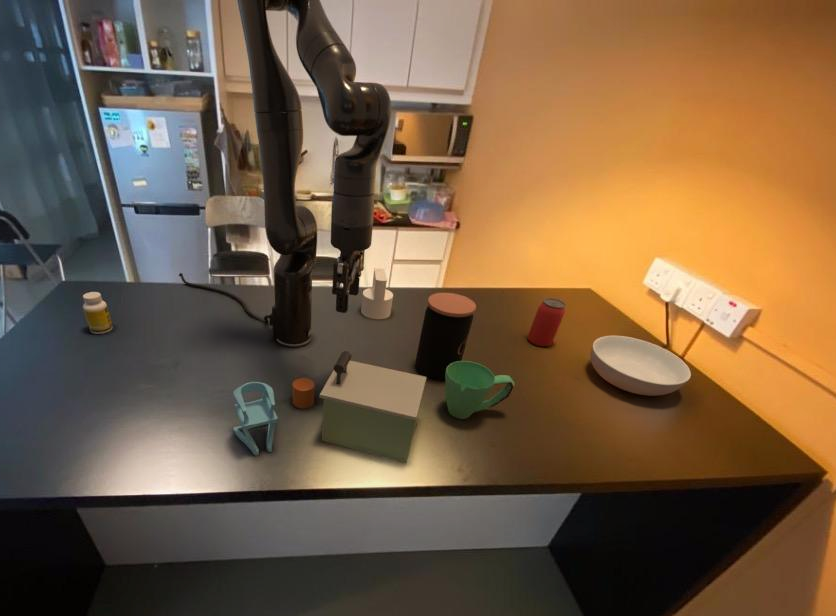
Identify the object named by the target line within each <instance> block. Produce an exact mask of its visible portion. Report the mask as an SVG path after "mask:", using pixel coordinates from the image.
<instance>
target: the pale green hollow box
mask: <svg viewBox="0 0 836 616" xmlns="http://www.w3.org/2000/svg"><path fill="white" fill-rule="evenodd" d="M425 386H426V385H425ZM425 386H424V388H425ZM424 391H425V389H424V390H423V392H424ZM423 396H424V393H423V394H422V398H421V402H420V407H419V411H418V415H417V419H416V421H415V420H411V419H407V418H402V417H398V416H394V415H390V414H386V413H382V412H377V411H373V410H369V409H365V408H361V407H357V406H352V405H348V404H344V403H340V402H336V401H332V400H327V399H323V407H322V408H323V409H322V425H321V426H322V427H321V429H322V431H321V441H322V442H326V443H330V444H334V445H337V446H340V447H341V446H342V447H346V448H348V449H353V450H356V451H361V452H363V453H368V454H372V455H376V456H379V457H383V458H388V459H389V460H390V459H391V460H395V461H398V462H402V463H408V458H409V454H410V452H411V451H410V450H411V446H412V442H413V438H414V435H415V429H416V426H417V422H418V419H419V414H420V409H421V404H422V401H423Z"/></svg>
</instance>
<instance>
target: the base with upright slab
mask: <svg viewBox="0 0 836 616" xmlns="http://www.w3.org/2000/svg"><path fill="white" fill-rule="evenodd" d="M372 277H373V278H372V286H371V287H368V288H365V289H364V290H363V291H362V295H361V296H362V297H361V306H360V313H361V314H362V315H363V316H364V317H365V318H368V319H371V320H385V319H388V318H389V317H390V316H391V315H392V307H393V299H394V293H393V292H392V291H390V290H389V289H387V283H388V279H387V274H386V270H385V268H381V267H379V268H378V267H377V268H374V269H373V276H372Z"/></svg>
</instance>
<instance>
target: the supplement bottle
mask: <svg viewBox="0 0 836 616" xmlns="http://www.w3.org/2000/svg"><path fill="white" fill-rule="evenodd" d="M82 298H83V302H84V303H83V304H82V309H83V312H84V315H85V319H86V322H87V325H88V329H89V331H90V333H92V334H94V335H102V334H103V335H104V334H107V333H110V332H111V331H112V330H113V329H114V327H113V322H112V319H111V315H110V312H109V307H108V304H107V303H106V301H104V300H103V297H102V295H101V293H100V292H98V291H90V292H86V293H84V294H83V295H82Z"/></svg>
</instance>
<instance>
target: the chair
mask: <svg viewBox="0 0 836 616" xmlns="http://www.w3.org/2000/svg"><path fill="white" fill-rule="evenodd" d="M256 391H257V392H260V391H261V392H262V395H261V398H260V399H256V400H252V401H248V402H245V401H244V397H243V395H245V394H247V393H251V392H256ZM233 396H234V398H235V400H236V403H235V404H234V410H235V412H236V414H237V418H238V420H239V423H240V425H238V426H237V425H236V426H234V427H233V433H234V435H235V436H236V437H237V438H238V439H239V440H240V441H241V442H242V443H243V444H244V445H245V446H246V447H247V448H248V449H249V450H250V451H251V452H252V454H253V455H254V456H255V457H257V456H259V455H260V450H259V447H258V445H257V444H256V441H255V440H254V438H253V436H252V434H251V433H250V431H249V430H250V429H254V428H258V427H263V426H266V425H267V426H268V427H267V434H266V440H265V441H266V442H265V443H266V451H267V452H268V453H272V452H273V441H274V435H275V429H276V425H277V423H278V422H279V418H278V415H277V413H276V412H275V408H276V401H275V394H274V390H273V387H272V386H271V385H269V384H267V383H265V382H259V381H250V382H247V383H244V384H242V385H240V386H238V387H237V388H235V390H234V391H233ZM267 396H268V397H267ZM242 431H243V432H242Z"/></svg>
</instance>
